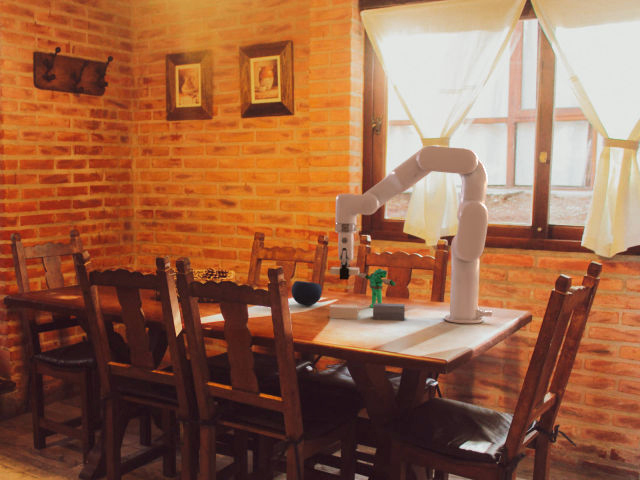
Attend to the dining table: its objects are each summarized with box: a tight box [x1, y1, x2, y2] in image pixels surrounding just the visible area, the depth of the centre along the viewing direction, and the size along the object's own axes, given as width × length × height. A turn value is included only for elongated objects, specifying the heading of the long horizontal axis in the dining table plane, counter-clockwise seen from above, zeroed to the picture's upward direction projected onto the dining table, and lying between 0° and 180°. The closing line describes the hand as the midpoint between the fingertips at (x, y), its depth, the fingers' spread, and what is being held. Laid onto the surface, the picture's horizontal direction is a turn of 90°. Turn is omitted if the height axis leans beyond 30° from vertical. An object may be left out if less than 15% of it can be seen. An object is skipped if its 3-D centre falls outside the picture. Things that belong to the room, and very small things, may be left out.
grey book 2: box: [372, 311, 405, 321], centre depth 269 cm, size 11×5×2 cm, turn 78°
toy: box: [358, 268, 396, 309], centre depth 288 cm, size 26×6×15 cm, turn 22°
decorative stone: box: [291, 280, 323, 307], centre depth 294 cm, size 12×12×10 cm
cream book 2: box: [329, 303, 359, 314], centre depth 272 cm, size 10×6×2 cm, turn 79°
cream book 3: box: [328, 312, 359, 320], centre depth 272 cm, size 10×6×2 cm, turn 78°
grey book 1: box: [372, 302, 406, 313], centre depth 269 cm, size 11×5×2 cm, turn 78°
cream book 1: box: [329, 266, 360, 276], centre depth 270 cm, size 10×6×2 cm, turn 78°
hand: (344, 277), depth 271 cm, fingers closed on cream book 1, 6 cm apart
